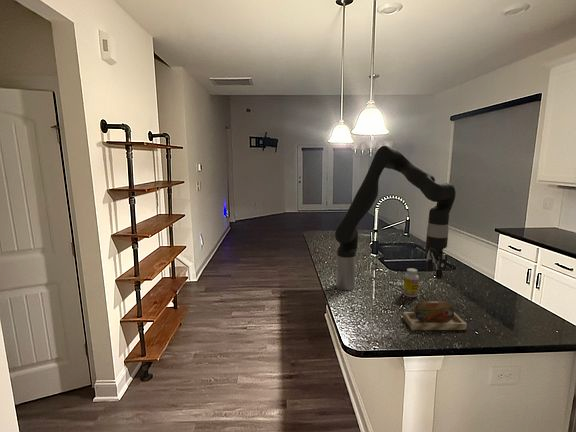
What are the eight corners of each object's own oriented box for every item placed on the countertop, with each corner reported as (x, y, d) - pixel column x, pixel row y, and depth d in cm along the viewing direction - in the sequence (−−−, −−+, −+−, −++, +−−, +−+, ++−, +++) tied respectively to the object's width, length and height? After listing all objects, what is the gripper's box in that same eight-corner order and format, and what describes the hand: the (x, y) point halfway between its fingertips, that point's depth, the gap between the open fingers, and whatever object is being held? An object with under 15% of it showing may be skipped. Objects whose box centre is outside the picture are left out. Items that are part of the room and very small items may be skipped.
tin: (415, 323, 129) (416, 303, 128) (412, 319, 132) (413, 300, 131) (453, 323, 129) (455, 303, 127) (449, 319, 132) (451, 300, 131)
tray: (411, 329, 125) (412, 323, 125) (402, 317, 135) (403, 312, 135) (466, 329, 125) (466, 323, 125) (453, 317, 135) (453, 311, 135)
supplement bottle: (411, 298, 153) (412, 272, 151) (400, 293, 159) (401, 268, 157) (420, 296, 156) (422, 270, 154) (410, 291, 162) (411, 266, 160)
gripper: (456, 239, 118) (452, 281, 121) (438, 230, 132) (435, 268, 135) (435, 239, 118) (431, 281, 121) (420, 230, 132) (417, 268, 135)
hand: (433, 274), depth 128 cm, fingers open, 8 cm apart
